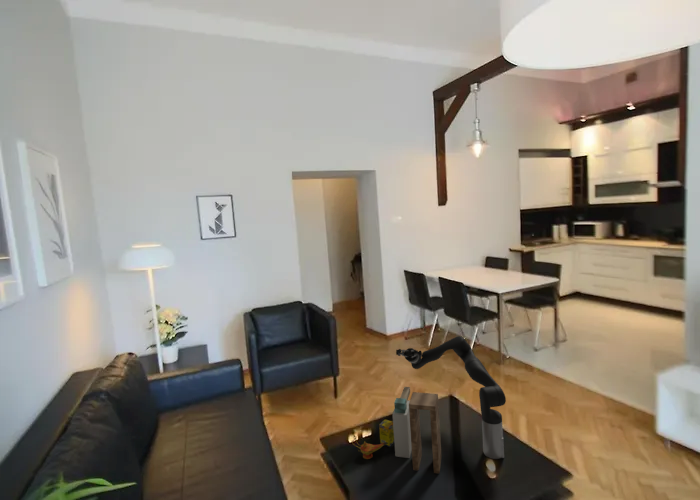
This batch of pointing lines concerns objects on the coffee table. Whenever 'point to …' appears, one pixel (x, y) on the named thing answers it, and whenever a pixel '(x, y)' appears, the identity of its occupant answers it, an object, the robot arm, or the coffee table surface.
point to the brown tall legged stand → (424, 403)
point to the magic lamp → (368, 448)
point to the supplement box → (386, 432)
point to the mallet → (402, 401)
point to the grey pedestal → (402, 433)
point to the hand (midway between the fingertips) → (406, 351)
